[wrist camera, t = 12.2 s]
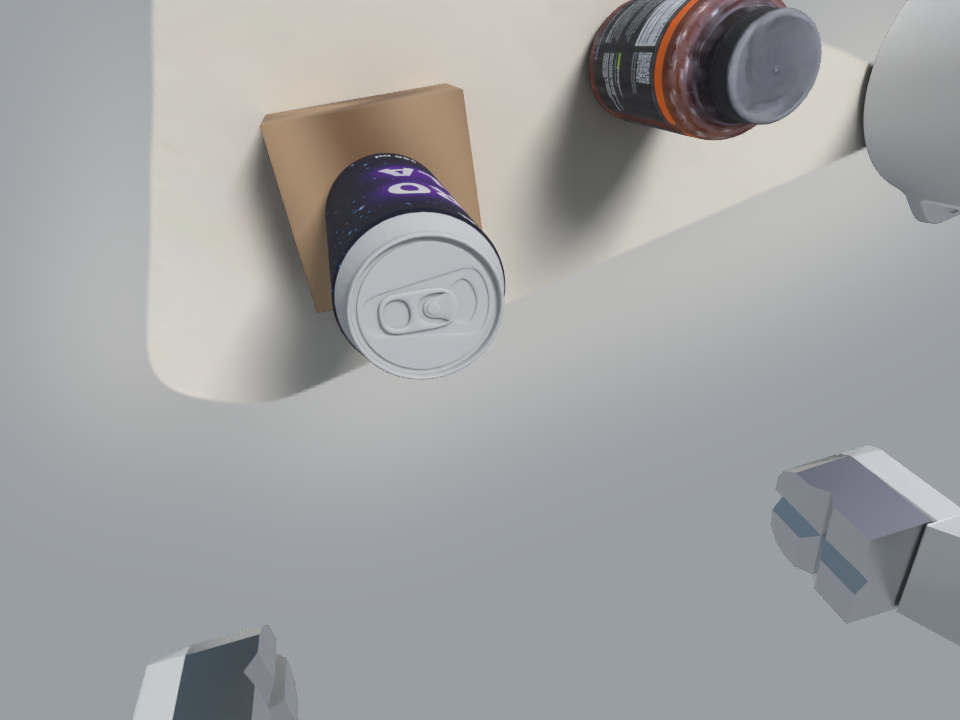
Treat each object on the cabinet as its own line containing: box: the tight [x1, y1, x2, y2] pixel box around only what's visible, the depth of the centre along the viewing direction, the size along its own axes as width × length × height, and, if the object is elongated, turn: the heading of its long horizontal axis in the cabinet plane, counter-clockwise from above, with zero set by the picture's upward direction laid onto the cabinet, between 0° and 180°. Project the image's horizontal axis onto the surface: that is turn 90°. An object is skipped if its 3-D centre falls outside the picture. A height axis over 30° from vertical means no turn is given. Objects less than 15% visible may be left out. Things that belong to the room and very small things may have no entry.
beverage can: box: [325, 153, 505, 380], centre depth 23 cm, size 6×6×12 cm
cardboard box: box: [260, 83, 482, 313], centre depth 30 cm, size 9×9×4 cm
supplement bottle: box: [589, 0, 821, 140], centre depth 27 cm, size 6×6×11 cm
